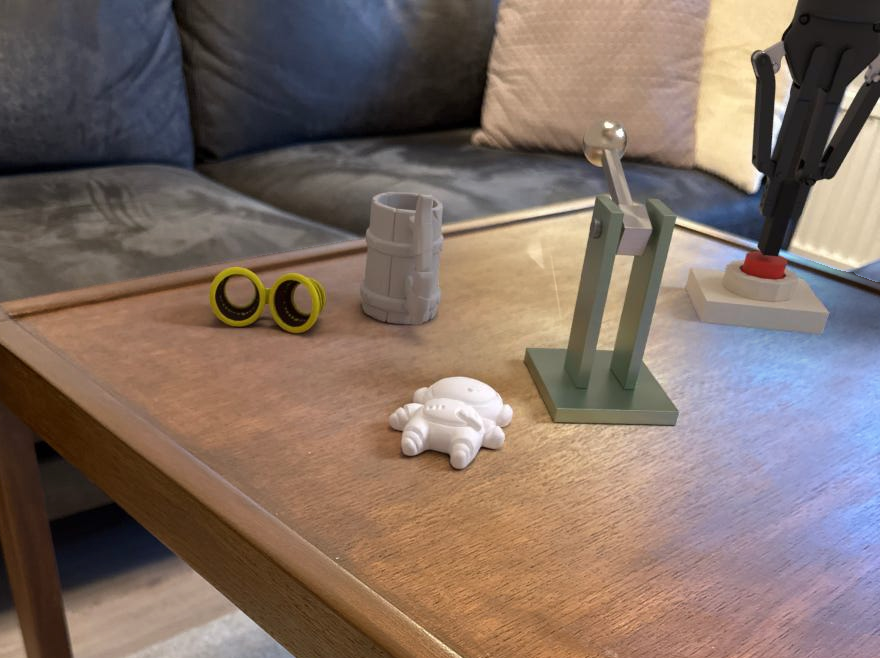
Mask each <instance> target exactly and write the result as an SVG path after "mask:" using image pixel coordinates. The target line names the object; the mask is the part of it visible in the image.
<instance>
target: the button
mask: <svg viewBox="0 0 880 658" xmlns="http://www.w3.org/2000/svg"><path fill="white" fill-rule="evenodd" d="M744 260H745V261H744V264H743V268H742V272H744V273H746V274H748V275H751V276H754V277H758V278H763V279H773V280H777V279H782V277H783V274H784V271H785V268H787V265H788V260H787V258H785V257H784V256H782V255H780V254H779V255H778V257H777V256H768V255H763V254H762V253H761V251H760V250H758V251H756V250H755V251H749V252H747V253H746V254H745V257H744Z"/></svg>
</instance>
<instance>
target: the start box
mask: <svg viewBox="0 0 880 658" xmlns="http://www.w3.org/2000/svg"><path fill="white" fill-rule="evenodd" d="M744 261H745V259H741V260H733V261H731V262H728V264H727V265H726V267H725V270H717V269H708V268H707V269H706V268H696V267H690V268H689V273H688V276H687V279H686V284H685V287H684V288H685V291H686V293H687V295H688V297H689V300H690V302H691V303H692V306H693V308H694V310H695V312H696V315H697V317H698V319H699V321H700V322H701V323H704V324H715V325H723V326H724V325H725V326H735V327H744V328H752V329H753V328H754V329H764V330H771V331H772V330H774V331H783V332H793V333H802V334H814V335H823V333H824V330H825V327H826V324H827V322H828V318H829V315H830V311H829V310H828V309H827V308H826V307H825V305H824V303H823V302H822V301H821V300H820V298H819V297H818V296H817V294H816V293H815V292H814V291H813V288H811V287H810V285H809V284H808V282H807V281H806V280H805V279H804V278H800V277H799V276H798V275H797V274H796V272H795V271H794V270H791V269H789V268H787V267H786V268H785V271H784V274H783V277H782V279H777V280H773V279H763V278H758V277H754V276H751V275H748V274H746V273H744V272H742V268H743V264H744Z"/></svg>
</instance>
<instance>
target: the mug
mask: <svg viewBox="0 0 880 658" xmlns="http://www.w3.org/2000/svg"><path fill="white" fill-rule="evenodd" d="M370 205H371V206H370V217H369V227H368V228H367V229H366V231H365V243H366V245H367V250H366V261H365V271H364V278H363V280H362V281H361V283H360V285H359V286H360V287H359V295H360V297H361V300H362V310H363V312H364V313H365V314H366V315H367V316H369V317H370V318H373V319H375V320H376V321H381V322H383V323H385V322H387V323H389V324H395V325H413V326H419V325H422V324H423V323H427V322H429V320H433V319H434V318H435V317H436V315H437V310H438V309H437V308H438V306H439V305H440V303H441V300H442V289H441V288H440V286H439V276H440V275H439V274H440V262H441V261H440V260H441V252H442V251H443V249H444V240H445V238H444V235H443V233H442V227H443V226H442V225H443V211H444V204H443V203H442V202H441V201H440V200H438V199H437V198H436V197H434V196H433V195H430V194H424V193H418V192H404V191H403V192H402V191H401V192H400V191H398V192H397V191H386V192H381V193H378V194H376V195H373V197H372V199H371V204H370Z"/></svg>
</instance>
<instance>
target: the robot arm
mask: <svg viewBox="0 0 880 658" xmlns="http://www.w3.org/2000/svg"><path fill="white" fill-rule="evenodd" d="M783 58H784V60H785V62H786V65H787V68H788V71H789V74H790V77H791V80H792V82H791V85H790V88H789V97H788V102H787V105H786V108H785V111H784V115H783V118H782V121H781V125H780V128H779V132H778V135H777V138H776V141H775V146H774V149H772V147H773V135H774V134H773V132H774V120H775V119H774V117H775V107H776V106H775V105H776V103H775V102H776V92H777V91H776V90H777V89H776V88H777V81H776V74H777V73H779V72H780V70H781V67H782V59H783ZM750 63H751V67H752V69H753V74H754V77H755V95H754V96H755V97H754V113H753V130H752V131H753V132H752V148H751V165H752V166H753V167H754V169H756V171H758V172H759V173H760V174H761V173H762V174H763V175H765V176H766V182H765V184H764V187H763V191H762V195H761V198H760V202H759V205H758V211H759V213H760V215H761V216H762V217H765V219H764V222H763V226H762V230H761V232H760V235H759V238H758V242H757V246H756V247H757V249H758V251H760V252H761V253H762V254H763V255H768V256H777V257H778V255H779V256H780V252H781V249H782V245H783V243H784V239H785V235H786V233H787V230H788V226H789V223H790V220H796V221H798V220H799V219H800V217H801V216H802V214H803V211H804V208H805V204H806V202H807V198H808V196H809V192H810V189H811V188H812V187H814V186H815V185H816V183H817V182H819V181H822V180H826V181H827V180H832V179H833V178H835V176H836V175H837V174H838V171H839V169H840V168H841V166H842V164H843V163H844V161H845V159H846V157H847V155H848V154H849V152H850V150H851V149H852V147H853V145H854V143H855V142H856V140H857V138H858V137H859V135H860V133H861V131H862V130H863V127H864V126H865V124H866V123H867V121H868V119H869V118H870V116H871V114H872V112H873V110H874V108H875V107H876V105H877V103H878V101H879V100H880V0H797V2H796V5H795V9H794V13H793V17H792V19H791V22H790V23H789V25H788V26H787V28H786V29H785V30H784V31H783V33H782V36H781V39H780V41H778V42H776V43H774V44H772V45H771V46H769V47H767V48H765V49H764V50H761V49H756V50H755V51H753V52H752V54H751V55H750ZM866 69H867V70H866ZM865 70H866V72H865V73H864V76H863V78H864V82H863V83H862V84H861V86H860V87H859V89H858V90H857V92H856V94H855V96H854V98H853V100H852V101H851V103H850V104H849V106H848V108H847V110H846V112H845V114H844V115H843V117H842V119H841V120H840V123H839V124H838V126H837V128H836V130H835V132H833V133H834V134H833V135H832V137H831V139H830V141H829V142H828V138H829V135H830V132H831V129H832V125H833V124H834V123H833V122H834V119H835V116H836V113H837V110H838V107H839V105H840V104H841V103H842V100H843V97H844V94H845V91H846V88H847V87H848V86H850V85H851V83H853V82H854V80H855V79H857V78H858V77H859V76H860V74H861V73H862V72H864V71H865ZM817 89H818V91H817V100H816V103H815V107H814V110H813V113H812V116H811V120H810V123H809V126H808V130H807V132H806V136H805V139H804V142H803V146H802V150H801V152H800V155H799V160H798V161H797V166H796V168H795V173H794V174H795V176H794V178H792V177H788V175H789V172H790V168H791V165H792V161H793V158H794V155H795V151H796V148H797V145H798V142H799V138H800V135H801V132H802V128H803V126H804V122H805V118H806V115H807V112H808V109H809V105H810V104H811V102H812V100H813V98H814V95H815V93H816V90H817ZM827 142H828V144H827ZM826 145H827V146H826ZM825 147H826V148H825ZM772 150H773V152H772Z"/></svg>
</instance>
